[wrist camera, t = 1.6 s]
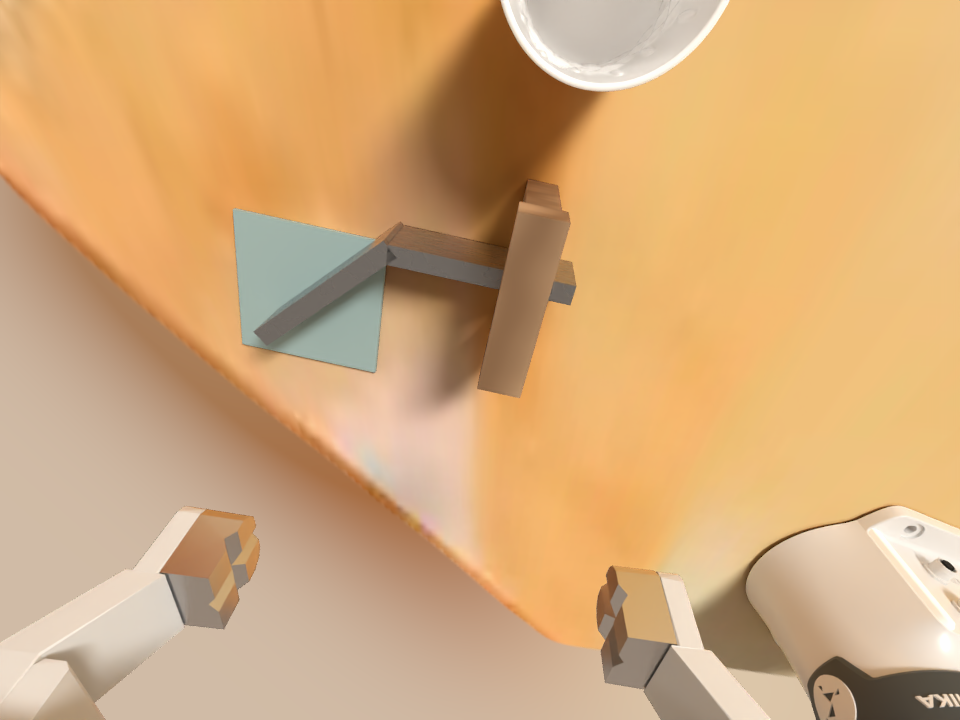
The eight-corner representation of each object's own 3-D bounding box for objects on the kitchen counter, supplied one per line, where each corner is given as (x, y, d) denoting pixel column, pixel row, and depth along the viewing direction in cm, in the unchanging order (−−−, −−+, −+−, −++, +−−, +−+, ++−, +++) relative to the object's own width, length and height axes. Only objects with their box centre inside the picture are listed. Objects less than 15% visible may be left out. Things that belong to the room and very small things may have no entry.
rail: (572, 259, 31) (577, 283, 27) (538, 372, 35) (538, 404, 32) (278, 194, 31) (246, 210, 27) (281, 316, 35) (253, 343, 32)
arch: (563, 186, 29) (570, 223, 22) (523, 331, 34) (520, 398, 27) (522, 177, 29) (517, 211, 22) (489, 324, 34) (477, 388, 27)
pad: (388, 242, 32) (387, 243, 31) (376, 370, 37) (375, 372, 36) (235, 208, 31) (232, 209, 31) (244, 341, 37) (242, 343, 36)
